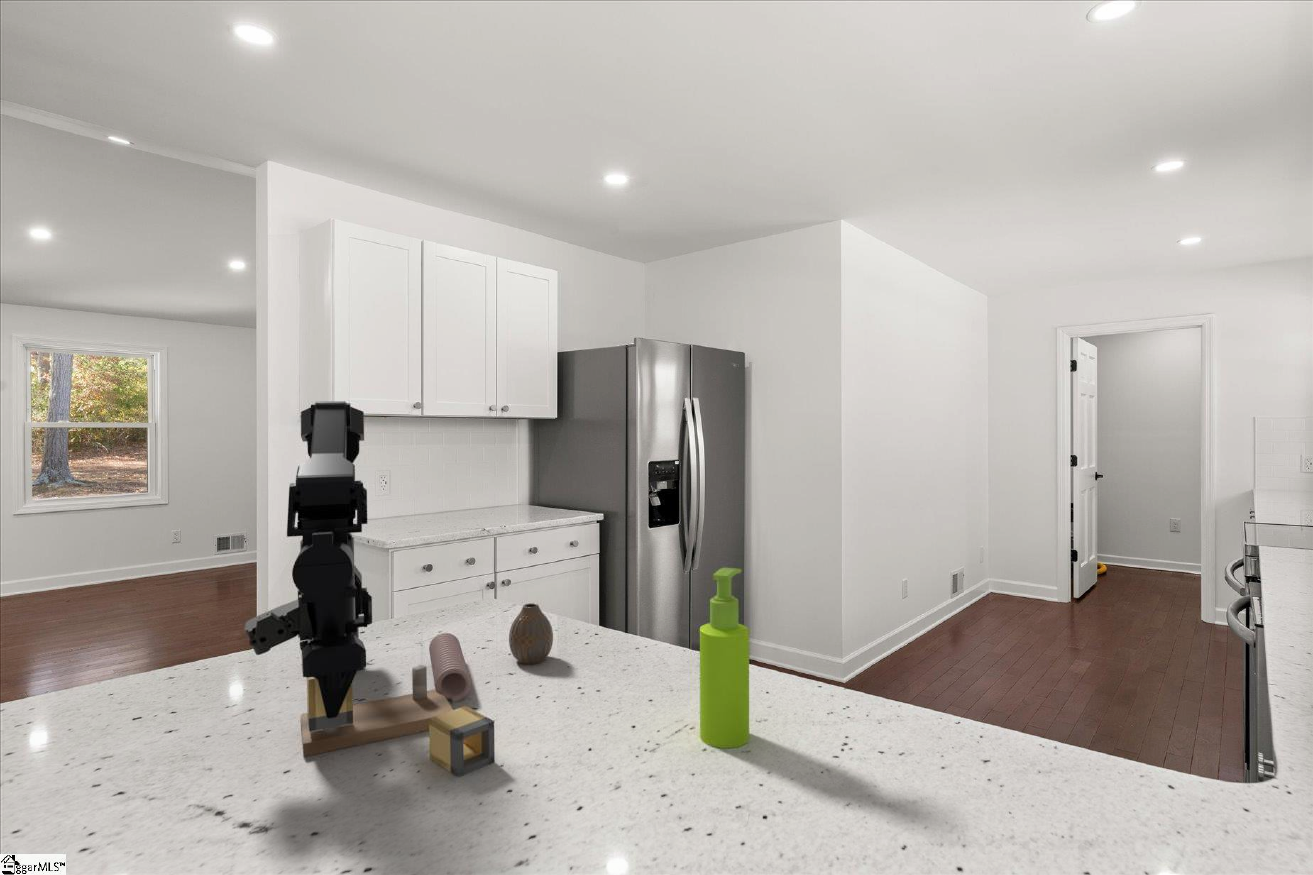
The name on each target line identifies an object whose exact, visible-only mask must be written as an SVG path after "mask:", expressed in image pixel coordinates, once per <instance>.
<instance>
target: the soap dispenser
mask: <svg viewBox="0 0 1313 875" xmlns="http://www.w3.org/2000/svg"><path fill="white" fill-rule="evenodd" d="M741 573H742V568H734V567H721V568H719V569H718V570H717V571H715V572H714V573H713V574H712V580H714V581H715V580H716V581H717V582H716V595H714V596H713V597H711V598H710V600H709V612H710V613H709V622H707V623H705V624H703V625H701V626H700V627H699V736H700V739H701V741H702V742H704V743H706V744H707V745H708V746H711V747H715V748H721V749H732V748H733V749H734V748H738V747H742V746H743V745H745V744H747V743H748V742H749V741H750V629H749V628H748V627H747V626H746V625H744V624H741V623H739V600H738V598H737V597H735V596H734V595H732V578H733V577H735V576H736V575H737V574H741Z"/></svg>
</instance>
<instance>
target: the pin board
mask: <svg viewBox="0 0 1313 875" xmlns="http://www.w3.org/2000/svg"><path fill="white" fill-rule="evenodd" d="M427 669H428V668H427V666H426V665H416V666H414V667H412V668H411V671H412V672H411V680H412V681H411V682H412V685H411V686H412V693H409V694H404V695H398V696H393V697H387V698H384V699H377V700H372V701H367V702H362V703H361V702H360V703H357V704H353V723H352V724H346V725H341V726H336V727H331V728H326V729H321V730H316V731H311V732H309V725H308V715H307V712H306V713H303V714H302V713H301V714H300V732H301V743H302V756H303V758H304V757H309V756H313V755H318V754H323V753H328V752H332V751H333V752H334V751H338V750H341V749H343V750H344V749H346V748H347V749H348V748H351V747H356V746H360V745H361V746H362V745H365V744H371V743H374V742H379V741H385V740H389V739H393V738H399V737H403V736H408V735H413V734H416V733H423V732H426V731H429V718H432V717H435V716H438V715H440V714H443V713H446V712H449V711H452V710H454V709H453V707H452V706H451V704H450V702H449V700H447V699H446V698H445V696H444V694H443V693H442V691H436V690H435V689H430V690H428V681H427V680H428V679H427V678H428V677H427V676H428V674H427V673H428V672H427V671H428V670H427Z"/></svg>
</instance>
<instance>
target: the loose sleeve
mask: <svg viewBox="0 0 1313 875" xmlns="http://www.w3.org/2000/svg"><path fill="white" fill-rule="evenodd" d="M353 686H354V685H353V681H352V683H351V686H350V688H349V690H348V693H347V695H346V697H345V700H344V702H343V704H342V707H341V709H340V711H339V714H338V716H337V717H335V718H327V716H326V712H325V708H324V704H323V700H322V696H321V691H320V687H319V683H318V680H317V679H316V678H314V677H310V678H308V677H306V696H307V697H306V705H307V706H306V708H307V712H306V713H307V715H308V725H309V732H311V731H316V730H321V729H326V728H331V727H336V726H341V725H346V724H352V723H353V705H354V700H353V699H354V695H353V694H354V693H353V690H354V689H353Z"/></svg>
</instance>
